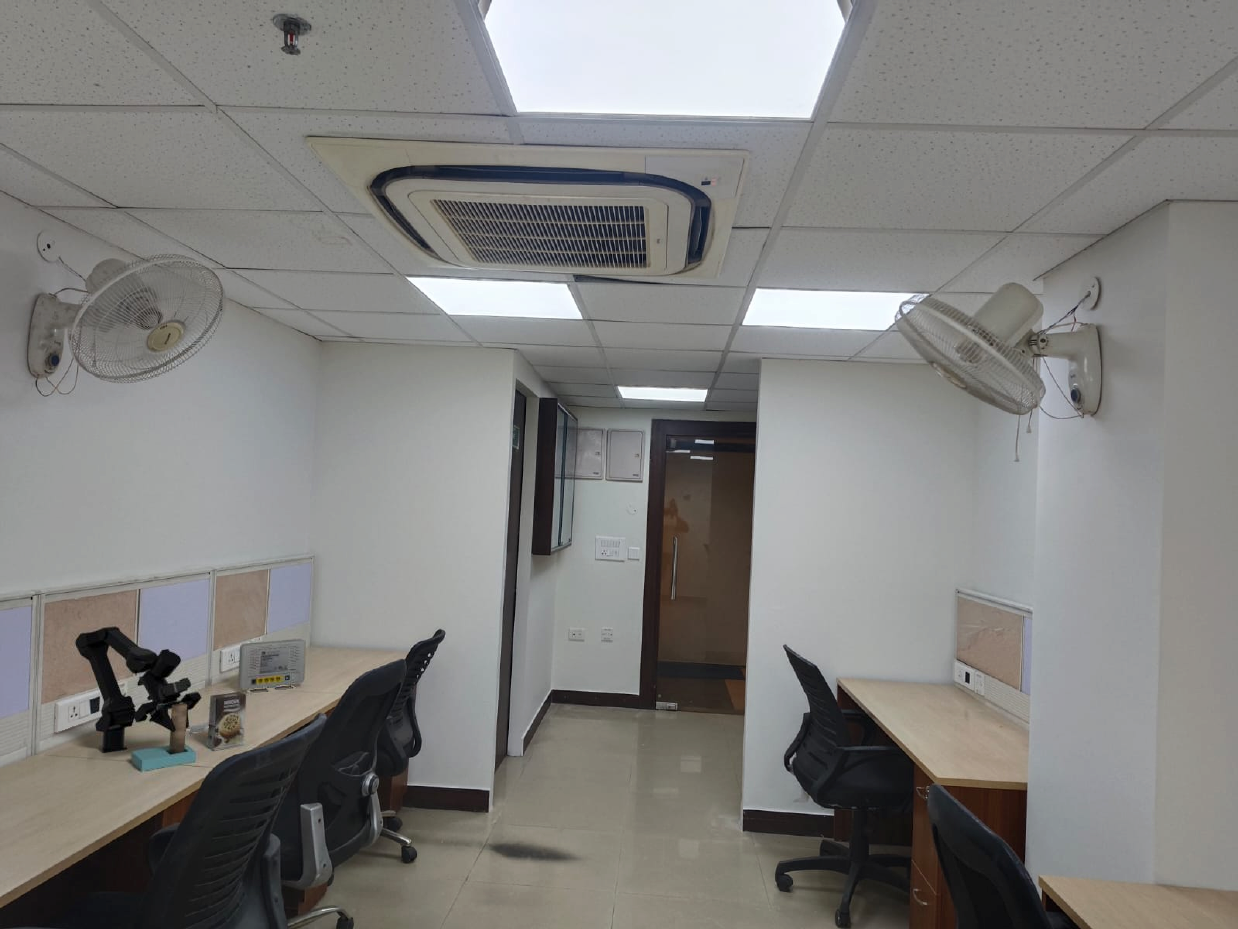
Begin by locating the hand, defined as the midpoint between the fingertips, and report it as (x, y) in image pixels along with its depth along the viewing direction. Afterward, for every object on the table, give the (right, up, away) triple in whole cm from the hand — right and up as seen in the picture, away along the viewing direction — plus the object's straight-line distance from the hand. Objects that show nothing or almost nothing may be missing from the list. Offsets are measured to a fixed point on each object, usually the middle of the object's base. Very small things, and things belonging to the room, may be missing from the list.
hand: (181, 729), depth 235 cm
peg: (-1, -8, 0) cm, 8 cm away
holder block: (-5, -9, -1) cm, 11 cm away
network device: (-15, -16, +96) cm, 99 cm away
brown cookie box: (+5, -11, +16) cm, 20 cm away
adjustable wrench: (-11, -13, +40) cm, 43 cm away
